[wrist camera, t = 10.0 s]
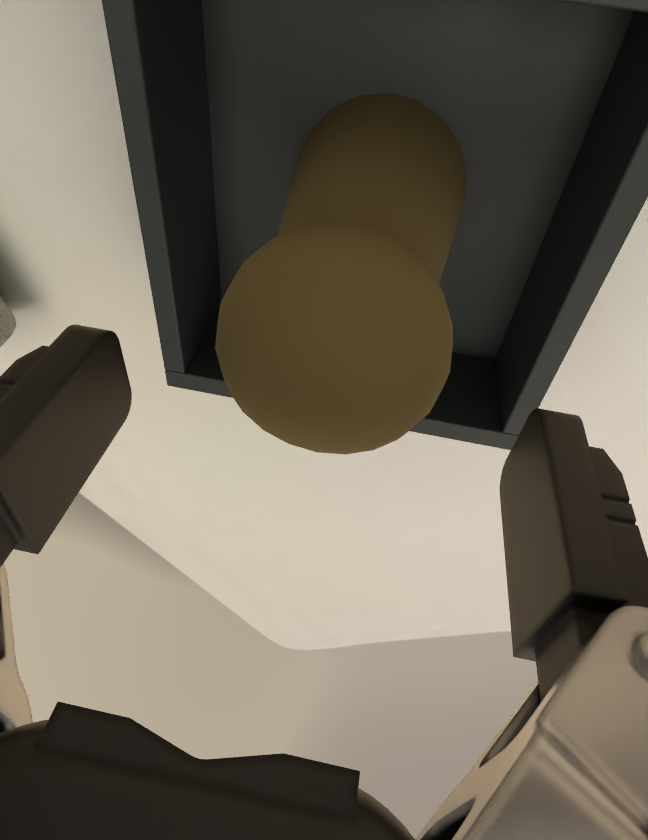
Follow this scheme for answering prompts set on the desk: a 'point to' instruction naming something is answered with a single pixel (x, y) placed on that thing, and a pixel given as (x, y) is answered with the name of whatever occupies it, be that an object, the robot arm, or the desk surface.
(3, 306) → the ceramic mug
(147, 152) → the open box
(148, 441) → the desk surface
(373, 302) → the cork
